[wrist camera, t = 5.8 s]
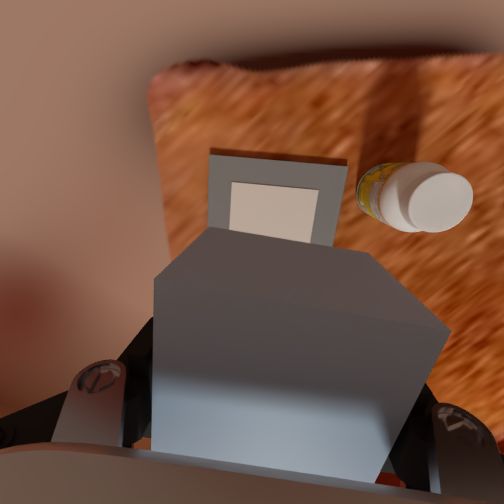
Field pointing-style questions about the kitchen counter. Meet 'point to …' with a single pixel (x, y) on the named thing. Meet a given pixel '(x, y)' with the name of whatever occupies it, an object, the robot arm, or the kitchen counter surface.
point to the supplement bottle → (415, 196)
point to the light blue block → (286, 355)
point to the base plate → (276, 198)
